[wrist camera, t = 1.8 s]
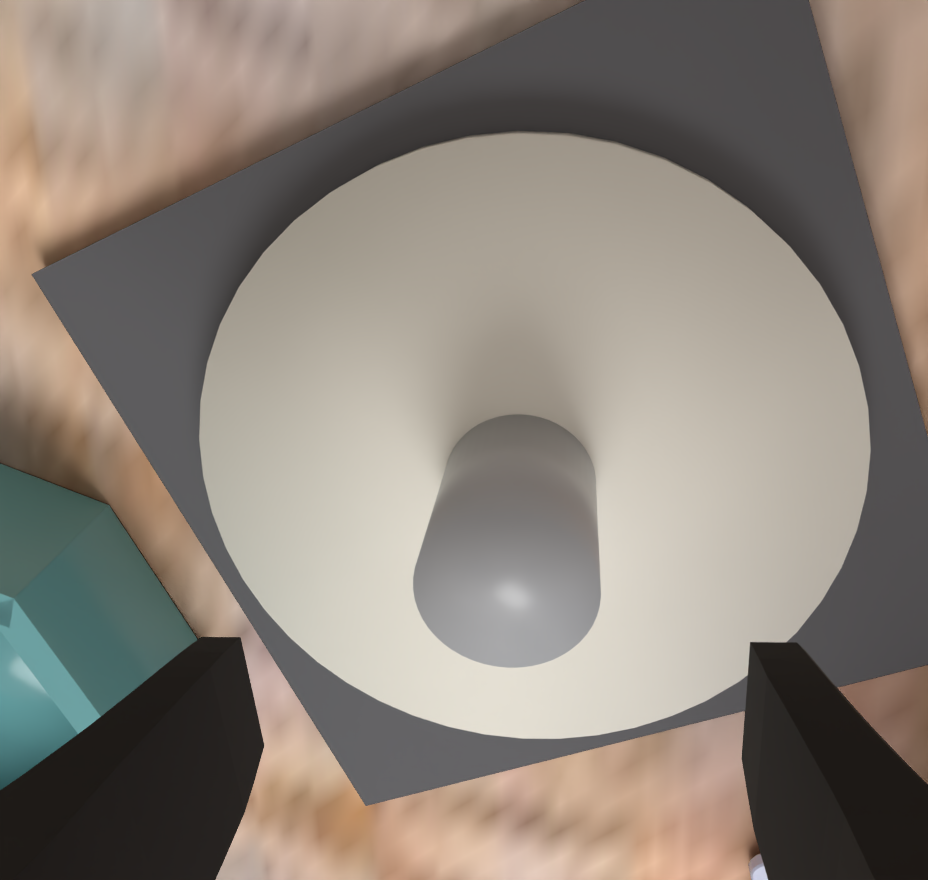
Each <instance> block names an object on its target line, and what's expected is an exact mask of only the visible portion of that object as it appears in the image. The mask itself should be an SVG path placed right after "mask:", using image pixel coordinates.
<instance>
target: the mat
mask: <svg viewBox="0 0 928 880" xmlns="http://www.w3.org/2000/svg"><path fill="white" fill-rule="evenodd" d="M511 131H536V132H560V133H572V134H577V135H583V136H588V137H594V138H599V139H605V140H610V141H615V142H619V143H622V144H625V145H628V146H631V147H634V148H637V149H640V150H643V151H646V152H649V153H652V154H655V155H658V156H661V157H664V158H666V159H668V160H670V161H672V162H674V163H676V164H678V165H680V166H682V167H684V168H686V169H688V170H690V171H692V172H694V173H696V174H698V175H700V176H702V177H704V178H706V179H708V180H710V181H711V182H712V183H714V184H715V185H717V186H718V187H720V188H721V189H723V190H724V191H725V192H727V193H728V194H730V195H731V196H733V197H734V198H736V199H737V200H739V201H740V202H741V203H743V204H744V205H746V206H747V207H748V208H749V209H750V210H751V211H752V212H754V213H755V214H756V215H757V216H758V217H759V218H760V219H761V220H762V221H763V222H764V223H765V224H766V225H768V226H769V227H770V228H771V229H772V230H773V231H774V232H775V233H776V234H777V235H778V236H779V237H780V238H782V239H783V240H784V241H785V242H786V243H787V244H788V245H789V246H790V247H791V248H792V250H793V251H794V252H795V253H796V255H797V256H798V257H799V258H800V260H801V261H802V262H803V263H804V265H805V266H806V267H807V268H808V270H809V271H810V272H811V273H812V275H813V276H814V277H815V278H816V280H817V281H818V282H819V283H820V285H821V287H822V288H823V290H824V292H825V294H826V295H827V297H828V299H829V301H830V302H831V304H832V306H833V308H834V309H835V311H836V313H837V315H838V316H839V318H840V320H841V321H842V323H843V325H844V328H845V331H846V333H847V336H848V338H849V341H850V344H851V346H852V349H853V351H854V354H855V357H856V359H857V362H858V364H859V368H860V372H861V377H862V382H863V386H864V391H865V395H866V400H867V405H868V412H869V430H870V447H871V453H870V463H869V473H868V483H867V492H866V496H865V500H864V504H863V508H862V512H861V516H860V520H859V524H858V528H857V532H856V534H855V536H854V539H853V541H852V544H851V546H850V548H849V551H848V553H847V556H846V558H845V560H844V563H843V565H842V568H841V569H840V571H839V573H838V574H837V576H836V578H835V579H834V581H833V583H832V584H831V586H830V588H829V589H828V591H827V593H826V595H825V596H824V598H823V600H822V601H821V603H820V604H819V605H818V606H817V608H816V609H815V610H814V611H813V613H812V614H811V615H810V616H809V618H808V619H807V620H806V621H805V623H804V624H803V625H802V626H801V628H800V629H799V630H798V632H797V633H796V634H795V635H793V636H792V637H791V638H790V639H789V640H788V641H787V642H797V643H798V644H799V645H800V646H801V647H802V648H803V649H804V650H805V651H806V652H807V653H808V654H809V655H810V657H811V658H812V659H813V660H814V661H815V663H816V664H817V665H818V666H819V667H820V668H821V670H822V671H823V672H824V673H825V674H826V676H827V677H828V678H829V679H830V680H831V681H832V683H833V684H834V685H835V686H836V687H841V686H845V685H849V684H853V683H857V682H861V681H865V680H869V679H873V678H877V677H881V676H885V675H889V674H893V673H897V672H901V671H905V670H909V669H913V668H917V667H921V666H925V665H928V437H927V433H926V429H925V426H924V422H923V418H922V415H921V411H920V407H919V404H918V400H917V396H916V393H915V389H914V385H913V382H912V378H911V374H910V371H909V367H908V363H907V360H906V356H905V352H904V349H903V345H902V341H901V338H900V334H899V330H898V327H897V323H896V319H895V316H894V312H893V308H892V304H891V301H890V297H889V293H888V290H887V286H886V282H885V279H884V275H883V271H882V268H881V264H880V260H879V257H878V253H877V249H876V246H875V242H874V238H873V235H872V231H871V227H870V224H869V220H868V216H867V213H866V209H865V205H864V202H863V198H862V194H861V191H860V187H859V183H858V180H857V176H856V172H855V169H854V165H853V161H852V158H851V154H850V150H849V147H848V143H847V139H846V136H845V132H844V128H843V125H842V121H841V117H840V114H839V110H838V106H837V103H836V99H835V95H834V92H833V88H832V84H831V81H830V77H829V73H828V70H827V66H826V62H825V59H824V55H823V51H822V48H821V44H820V40H819V37H818V33H817V29H816V26H815V22H814V18H813V15H812V11H811V7H810V4H809V0H585V1H583V2H581V3H579V4H577V5H574V6H572V7H570V8H568V9H566V10H564V11H562V12H560V13H558V14H556V15H554V16H552V17H550V18H548V19H546V20H544V21H542V22H540V23H538V24H536V25H534V26H532V27H530V28H528V29H526V30H524V31H522V32H520V33H518V34H516V35H514V36H512V37H510V38H508V39H506V40H504V41H502V42H500V43H498V44H496V45H494V46H492V47H490V48H488V49H486V50H484V51H482V52H480V53H478V54H475V55H473V56H471V57H469V58H467V59H465V60H463V61H461V62H459V63H457V64H455V65H453V66H451V67H449V68H447V69H445V70H443V71H441V72H439V73H437V74H435V75H433V76H431V77H429V78H427V79H425V80H423V81H421V82H419V83H417V84H415V85H413V86H411V87H409V88H407V89H405V90H403V91H401V92H399V93H397V94H395V95H393V96H391V97H389V98H387V99H385V100H383V101H381V102H379V103H376V104H374V105H372V106H370V107H368V108H366V109H364V110H362V111H360V112H358V113H356V114H354V115H352V116H350V117H348V118H346V119H344V120H342V121H340V122H338V123H336V124H334V125H332V126H330V127H328V128H326V129H324V130H322V131H320V132H318V133H316V134H314V135H312V136H310V137H308V138H306V139H304V140H302V141H300V142H298V143H296V144H294V145H292V146H290V147H288V148H286V149H284V150H282V151H280V152H277V153H275V154H273V155H271V156H269V157H267V158H265V159H263V160H261V161H259V162H257V163H255V164H253V165H251V166H249V167H247V168H245V169H243V170H241V171H239V172H237V173H235V174H233V175H231V176H229V177H227V178H225V179H223V180H221V181H219V182H217V183H215V184H213V185H211V186H209V187H207V188H205V189H203V190H201V191H199V192H197V193H195V194H193V195H191V196H189V197H187V198H185V199H183V200H181V201H178V202H176V203H174V204H172V205H170V206H168V207H166V208H164V209H162V210H160V211H158V212H156V213H154V214H152V215H150V216H148V217H146V218H144V219H142V220H140V221H138V222H136V223H134V224H132V225H130V226H128V227H126V228H124V229H122V230H120V231H118V232H116V233H114V234H112V235H110V236H108V237H106V238H104V239H102V240H100V241H98V242H96V243H94V244H92V245H90V246H88V247H86V248H84V249H82V250H79V251H77V252H75V253H73V254H71V255H69V256H67V257H65V258H63V259H61V260H59V261H57V262H55V263H53V264H51V265H49V266H47V267H45V268H43V269H41V270H39V271H37V272H35V273H33V274H32V276H33V277H34V279H35V281H36V282H37V284H38V285H39V287H40V289H41V290H42V292H43V293H44V295H45V297H46V298H47V300H48V301H49V303H50V304H51V306H52V308H53V309H54V311H55V312H56V314H57V316H58V317H59V319H60V320H61V322H62V324H63V325H64V327H65V328H66V330H67V332H68V333H69V335H70V336H71V338H72V339H73V341H74V343H75V344H76V346H77V347H78V349H79V351H80V352H81V354H82V355H83V357H84V359H85V360H86V362H87V363H88V365H89V366H90V368H91V370H92V371H93V373H94V374H95V376H96V378H97V379H98V381H99V382H100V384H101V386H102V387H103V389H104V390H105V392H106V394H107V395H108V397H109V398H110V400H111V401H112V403H113V405H114V406H115V408H116V409H117V411H118V413H119V414H120V416H121V417H122V419H123V421H124V422H125V424H126V425H127V427H128V429H129V430H130V432H131V433H132V435H133V436H134V438H135V440H136V441H137V443H138V444H139V446H140V448H141V449H142V451H143V452H144V454H145V456H146V457H147V459H148V460H149V462H150V463H151V465H152V467H153V468H154V470H155V471H156V473H157V475H158V476H159V478H160V479H161V481H162V483H163V484H164V486H165V487H166V489H167V491H168V492H169V494H170V495H171V497H172V498H173V500H174V502H175V503H176V505H177V506H178V508H179V510H180V511H181V513H182V514H183V516H184V518H185V519H186V521H187V522H188V524H189V525H190V527H191V529H192V530H193V532H194V533H195V535H196V537H197V538H198V540H199V541H200V543H201V545H202V546H203V548H204V549H205V551H206V553H207V554H208V556H209V557H210V559H211V560H212V562H213V564H214V565H215V567H216V568H217V570H218V572H219V573H220V575H221V576H222V578H223V580H224V581H225V583H226V584H227V586H228V587H229V589H230V591H231V592H232V594H233V595H234V597H235V599H236V600H237V602H238V603H239V605H240V607H241V608H242V610H243V611H244V613H245V615H246V616H247V618H248V619H249V621H250V622H251V624H252V626H253V627H254V629H255V630H256V632H257V634H258V635H259V637H260V638H261V640H262V642H263V643H264V645H265V646H266V648H267V649H268V651H269V653H270V654H271V656H272V657H273V659H274V661H275V662H276V664H277V665H278V667H279V669H280V670H281V672H282V673H283V675H284V677H285V678H286V680H287V681H288V683H289V684H290V686H291V688H292V689H293V691H294V692H295V694H296V696H297V697H298V699H299V700H300V702H301V704H302V705H303V707H304V708H305V710H306V711H307V713H308V715H309V716H310V718H311V719H312V721H313V723H314V724H315V726H316V727H317V729H318V731H319V732H320V734H321V735H322V737H323V739H324V740H325V742H326V743H327V745H328V746H329V748H330V750H331V751H332V753H333V754H334V756H335V758H336V759H337V761H338V762H339V764H340V766H341V767H342V769H343V770H344V772H345V773H346V775H347V777H348V778H349V780H350V781H351V783H352V785H353V786H354V788H355V789H356V791H357V793H358V794H359V796H360V797H361V799H362V801H363V802H364V804H365V805H366V806H367V805H371V804H375V803H379V802H383V801H387V800H391V799H395V798H399V797H403V796H407V795H411V794H415V793H419V792H423V791H427V790H431V789H435V788H439V787H443V786H447V785H451V784H455V783H459V782H463V781H467V780H471V779H475V778H479V777H483V776H487V775H491V774H495V773H499V772H503V771H507V770H511V769H515V768H519V767H523V766H527V765H531V764H535V763H539V762H543V761H547V760H551V759H555V758H559V757H563V756H567V755H571V754H574V753H578V752H582V751H586V750H590V749H594V748H598V747H602V746H606V745H610V744H614V743H618V742H622V741H626V740H630V739H634V738H638V737H642V736H646V735H650V734H654V733H658V732H662V731H666V730H670V729H674V728H678V727H682V726H686V725H690V724H694V723H698V722H702V721H706V720H710V719H714V718H718V717H722V716H726V715H730V714H734V713H738V712H742V711H745V707H746V693H747V679H748V675H747V676H746V677H745V678H743V679H742V680H741V681H739V682H738V683H736V684H734V685H733V686H731V687H729V688H727V689H726V690H724V691H722V692H721V693H719V694H717V695H715V696H714V697H712V698H710V699H709V700H707V701H705V702H703V703H700V704H698V705H696V706H694V707H691V708H689V709H687V710H684V711H682V712H680V713H678V714H675V715H673V716H671V717H667V718H664V719H661V720H658V721H655V722H652V723H648V724H645V725H642V726H639V727H636V728H631V729H626V730H621V731H616V732H611V733H606V734H601V735H595V736H584V737H574V738H563V739H522V738H513V737H503V736H494V735H485V734H480V733H475V732H471V731H466V730H461V729H456V728H452V727H447V726H444V725H441V724H438V723H435V722H432V721H429V720H425V719H422V718H419V717H416V716H413V715H411V714H408V713H406V712H404V711H401V710H399V709H397V708H394V707H392V706H390V705H387V704H385V703H383V702H381V701H378V700H377V699H375V698H373V697H371V696H370V695H368V694H366V693H364V692H362V691H361V690H359V689H357V688H355V687H353V686H352V685H350V684H348V683H346V682H345V681H344V680H342V679H341V678H339V677H338V676H337V675H335V674H334V673H332V672H331V671H329V670H328V669H327V668H325V667H324V666H322V665H321V664H320V663H318V662H317V661H316V660H315V659H313V658H312V657H311V656H310V655H309V654H308V653H307V652H305V651H304V650H303V649H302V648H301V647H300V646H299V645H298V644H296V643H295V642H294V641H293V640H292V639H291V638H290V637H289V636H288V635H287V634H286V633H285V632H284V631H283V630H282V629H281V627H280V626H279V625H278V624H277V623H276V622H275V621H274V620H273V619H272V618H271V616H270V615H269V614H268V613H267V612H266V611H265V610H264V608H263V607H262V605H261V604H260V603H259V601H258V600H257V598H256V597H255V596H254V594H253V593H252V591H251V590H250V589H249V587H248V586H247V584H246V583H245V582H244V580H243V578H242V577H241V575H240V573H239V571H238V569H237V567H236V566H235V564H234V562H233V560H232V558H231V556H230V555H229V553H228V551H227V549H226V547H225V545H224V542H223V539H222V537H221V534H220V532H219V529H218V527H217V524H216V522H215V519H214V516H213V514H212V510H211V506H210V502H209V498H208V494H207V490H206V486H205V482H204V478H203V470H202V461H201V451H200V442H199V430H200V401H201V395H202V389H203V384H204V378H205V372H206V367H207V362H208V359H209V356H210V353H211V350H212V347H213V344H214V341H215V338H216V335H217V332H218V329H219V326H220V323H221V321H222V319H223V317H224V315H225V313H226V311H227V309H228V308H229V306H230V304H231V302H232V300H233V298H234V296H235V294H236V292H237V290H238V288H239V286H240V285H241V283H242V282H243V281H244V279H245V278H246V276H247V275H248V274H249V272H250V271H251V269H252V268H253V267H254V265H255V264H256V262H257V261H258V259H259V258H260V257H261V255H262V254H263V252H264V251H265V250H266V249H267V248H268V247H269V246H270V245H271V244H272V243H273V242H274V241H275V240H276V239H277V238H278V237H279V236H280V235H281V234H282V233H283V232H284V231H285V230H286V228H287V227H288V226H289V225H290V224H291V223H292V222H293V221H294V220H295V219H297V218H298V217H299V216H301V215H302V214H303V213H304V212H306V211H307V210H308V209H310V208H311V207H312V206H314V205H315V204H316V203H317V202H319V201H320V200H321V199H323V198H324V197H325V196H326V195H328V194H329V193H330V192H332V191H334V190H335V189H337V188H338V187H340V186H342V185H344V184H345V183H347V182H349V181H351V180H352V179H354V178H356V177H358V176H359V175H361V174H363V173H365V172H366V171H368V170H370V169H372V168H374V167H375V166H377V165H379V164H381V163H383V162H386V161H388V160H391V159H393V158H396V157H399V156H401V155H404V154H406V153H409V152H411V151H414V150H416V149H419V148H421V147H424V146H428V145H432V144H437V143H441V142H445V141H449V140H453V139H457V138H462V137H466V136H470V135H480V134H490V133H501V132H511Z"/></svg>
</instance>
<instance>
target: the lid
mask: <svg viewBox="0 0 928 880" xmlns="http://www.w3.org/2000/svg"><path fill="white" fill-rule="evenodd" d="M199 442H200V451H201V461H202V470H203V478H204V482H205V486H206V490H207V494H208V498H209V502H210V506H211V510H212V514H213V516H214V519H215V522H216V524H217V527H218V529H219V532H220V534H221V537H222V539H223V542H224V545H225V547H226V549H227V551H228V553H229V555H230V556H231V558H232V560H233V562H234V564H235V566H236V567H237V569H238V571H239V573H240V575H241V577H242V578H243V580H244V582H245V583H246V584H247V586H248V587H249V589H250V590H251V591H252V593H253V594H254V596H255V597H256V598H257V600H258V601H259V603H260V604H261V605H262V607H263V608H264V610H265V611H266V612H267V613H268V614H269V615H270V616H271V618H272V619H273V620H274V621H275V622H276V623H277V624H278V625H279V626H280V627H281V629H282V630H283V631H284V632H285V633H286V634H287V635H288V636H289V637H290V638H291V639H292V640H293V641H294V642H295V643H296V644H298V645H299V646H300V647H301V648H302V649H303V650H304V651H305V652H307V653H308V654H309V655H310V656H311V657H312V658H313V659H315V660H316V661H317V662H318V663H320V664H321V665H322V666H324V667H325V668H327V669H328V670H329V671H331V672H332V673H334V674H335V675H337V676H338V677H339V678H341V679H342V680H344V681H345V682H346V683H348V684H350V685H352V686H353V687H355V688H357V689H359V690H361V691H362V692H364V693H366V694H368V695H370V696H371V697H373V698H375V699H377V700H378V701H381V702H383V703H385V704H387V705H390V706H392V707H394V708H397V709H399V710H401V711H404V712H406V713H408V714H411V715H413V716H416V717H419V718H422V719H425V720H429V721H432V722H435V723H438V724H441V725H444V726H447V727H452V728H456V729H461V730H466V731H471V732H475V733H480V734H485V735H494V736H503V737H513V738H522V739H563V738H574V737H584V736H595V735H601V734H606V733H611V732H616V731H621V730H626V729H631V728H636V727H639V726H642V725H645V724H648V723H652V722H655V721H658V720H661V719H664V718H667V717H671V716H673V715H675V714H678V713H680V712H682V711H684V710H687V709H689V708H691V707H694V706H696V705H698V704H700V703H703V702H705V701H707V700H709V699H710V698H712V697H714V696H715V695H717V694H719V693H721V692H722V691H724V690H726V689H727V688H729V687H731V686H733V685H734V684H736V683H738V682H739V681H741V680H742V679H743V678H745V677H746V676H747V675H748V665H749V651H750V642H787V641H788V640H789V639H790V638H791V637H792V636H793V635H795V634H796V633H797V632H798V630H799V629H800V628H801V626H802V625H803V624H804V623H805V621H806V620H807V619H808V618H809V616H810V615H811V614H812V613H813V611H814V610H815V609H816V608H817V606H818V605H819V604H820V603H821V601H822V600H823V598H824V596H825V595H826V593H827V591H828V589H829V588H830V586H831V584H832V583H833V581H834V579H835V578H836V576H837V574H838V573H839V571H840V569H841V568H842V565H843V563H844V560H845V558H846V556H847V553H848V551H849V548H850V546H851V544H852V541H853V539H854V536H855V534H856V532H857V528H858V524H859V520H860V516H861V512H862V508H863V504H864V500H865V496H866V492H867V483H868V473H869V463H870V453H871V447H870V430H869V412H868V405H867V400H866V395H865V391H864V386H863V382H862V377H861V372H860V368H859V364H858V362H857V359H856V357H855V354H854V351H853V349H852V346H851V344H850V341H849V338H848V336H847V333H846V331H845V328H844V325H843V323H842V321H841V320H840V318H839V316H838V315H837V313H836V311H835V309H834V308H833V306H832V304H831V302H830V301H829V299H828V297H827V295H826V294H825V292H824V290H823V288H822V287H821V285H820V283H819V282H818V281H817V280H816V278H815V277H814V276H813V275H812V273H811V272H810V271H809V270H808V268H807V267H806V266H805V265H804V263H803V262H802V261H801V260H800V258H799V257H798V256H797V255H796V253H795V252H794V251H793V250H792V248H791V247H790V246H789V245H788V244H787V243H786V242H785V241H784V240H783V239H782V238H780V237H779V236H778V235H777V234H776V233H775V232H774V231H773V230H772V229H771V228H770V227H769V226H768V225H766V224H765V223H764V222H763V221H762V220H761V219H760V218H759V217H758V216H757V215H756V214H755V213H754V212H752V211H751V210H750V209H749V208H748V207H747V206H746V205H744V204H743V203H741V202H740V201H739V200H737V199H736V198H734V197H733V196H731V195H730V194H728V193H727V192H725V191H724V190H723V189H721V188H720V187H718V186H717V185H715V184H714V183H712V182H711V181H710V180H708V179H706V178H704V177H702V176H700V175H698V174H696V173H694V172H692V171H690V170H688V169H686V168H684V167H682V166H680V165H678V164H676V163H674V162H672V161H670V160H668V159H666V158H664V157H661V156H658V155H655V154H652V153H649V152H646V151H643V150H640V149H637V148H634V147H631V146H628V145H625V144H622V143H619V142H615V141H610V140H605V139H599V138H594V137H588V136H583V135H577V134H572V133H560V132H536V131H511V132H501V133H490V134H480V135H470V136H466V137H462V138H457V139H453V140H449V141H445V142H441V143H437V144H432V145H428V146H424V147H421V148H419V149H416V150H414V151H411V152H409V153H406V154H404V155H401V156H399V157H396V158H393V159H391V160H388V161H386V162H383V163H381V164H379V165H377V166H375V167H374V168H372V169H370V170H368V171H366V172H365V173H363V174H361V175H359V176H358V177H356V178H354V179H352V180H351V181H349V182H347V183H345V184H344V185H342V186H340V187H338V188H337V189H335V190H334V191H332V192H330V193H329V194H328V195H326V196H325V197H324V198H323V199H321V200H320V201H319V202H317V203H316V204H315V205H314V206H312V207H311V208H310V209H308V210H307V211H306V212H304V213H303V214H302V215H301V216H299V217H298V218H297V219H295V220H294V221H293V222H292V223H291V224H290V225H289V226H288V227H287V228H286V230H285V231H284V232H283V233H282V234H281V235H280V236H279V237H278V238H277V239H276V240H275V241H274V242H273V243H272V244H271V245H270V246H269V247H268V248H267V249H266V250H265V251H264V252H263V254H262V255H261V257H260V258H259V259H258V261H257V262H256V264H255V265H254V267H253V268H252V269H251V271H250V272H249V274H248V275H247V276H246V278H245V279H244V281H243V282H242V283H241V285H240V286H239V288H238V290H237V292H236V294H235V296H234V298H233V300H232V302H231V304H230V306H229V308H228V309H227V311H226V313H225V315H224V317H223V319H222V321H221V323H220V326H219V329H218V332H217V335H216V338H215V341H214V344H213V347H212V350H211V353H210V356H209V359H208V362H207V367H206V372H205V378H204V384H203V389H202V395H201V401H200V430H199Z"/></svg>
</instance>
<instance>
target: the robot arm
mask: <svg viewBox="0 0 928 880" xmlns="http://www.w3.org/2000/svg"><path fill="white" fill-rule="evenodd" d="M263 748H264V742H263V738H262V733H261V729H260V724H259V720H258V715H257V711H256V706H255V701H254V697H253V692H252V688H251V683H250V679H249V674H248V670H247V665H246V660H245V656H244V651H243V647H242V642H241V638H240V637H201V638H199V639H198V640H196V641H195V642H194V643H192V644H191V645H190V646H188V647H187V648H186V649H184V650H183V651H182V652H180V653H179V654H178V655H177V656H175V657H174V658H173V659H172V660H170V661H169V662H168V663H167V664H165V665H164V666H163V667H162V668H160V669H159V670H158V671H157V672H156V673H154V674H153V675H152V676H151V677H149V678H148V679H147V680H146V681H144V682H143V683H142V684H141V685H140V686H138V687H137V688H136V689H135V690H133V691H132V692H131V693H130V694H128V695H127V696H126V697H125V698H123V699H122V700H121V701H120V702H118V703H117V704H116V705H115V706H113V707H112V708H111V709H110V710H108V711H107V712H106V713H105V714H103V715H102V716H101V717H100V718H98V719H97V720H96V721H95V722H93V723H92V724H91V725H89V726H88V727H87V728H86V729H84V730H83V731H81V732H80V733H79V734H77V735H76V736H75V737H73V738H72V739H71V740H69V741H68V742H67V743H65V744H64V745H62V746H61V747H60V748H58V749H57V750H56V751H54V752H53V753H52V754H50V755H49V756H48V757H46V758H45V759H43V760H42V761H41V762H39V763H38V764H37V765H35V766H34V767H33V768H31V769H30V770H29V771H27V772H26V773H24V774H23V775H22V776H20V777H19V778H17V779H16V780H14V781H13V782H11V783H10V784H9V785H7V786H6V787H4V788H3V789H1V790H0V880H215V879H216V877H217V875H218V872H219V870H220V868H221V866H222V863H223V861H224V859H225V856H226V854H227V852H228V850H229V847H230V845H231V843H232V840H233V838H234V836H235V833H236V831H237V829H238V826H239V824H240V822H241V819H242V817H243V815H244V812H245V809H246V806H247V803H248V800H249V796H250V793H251V790H252V787H253V784H254V780H255V777H256V773H257V769H258V766H259V762H260V759H261V755H262V752H263ZM742 762H743V769H744V775H745V781H746V787H747V793H748V799H749V805H750V810H751V816H752V822H753V827H754V832H755V836H756V839H757V843H758V846H759V850H760V853H761V854H758V855H756V856H754V857H753V858H752V859H751V860H750V862H749V871H750V876H751V880H928V784H927V783H926V782H925V781H924V780H923V779H922V778H921V777H920V776H919V775H918V774H917V773H916V772H915V771H914V770H913V769H912V768H911V767H910V766H909V765H908V764H907V763H906V762H905V761H904V760H903V759H902V758H901V757H900V756H899V755H898V754H897V753H896V752H895V751H894V750H893V749H892V748H891V747H890V746H889V745H888V743H887V742H886V741H885V740H884V739H883V738H882V737H881V736H880V735H879V734H878V733H877V732H876V731H875V730H874V729H873V728H872V727H871V726H870V724H869V723H868V722H867V721H866V720H865V719H864V718H863V717H862V716H861V715H860V713H859V712H858V711H857V710H856V709H855V708H854V707H853V706H852V704H851V703H850V702H849V701H848V700H847V699H846V698H845V696H844V695H843V694H842V693H841V692H840V691H839V690H838V688H837V687H836V686H835V685H834V684H833V683H832V681H831V680H830V679H829V678H828V677H827V676H826V674H825V673H824V672H823V671H822V670H821V668H820V667H819V666H818V665H817V664H816V663H815V661H814V660H813V659H812V658H811V657H810V655H809V654H808V653H807V652H806V651H805V650H804V649H803V648H802V647H801V646H800V645H799V644H798V643H797V642H750V651H749V665H748V679H747V693H746V707H745V721H744V735H743V749H742Z"/></svg>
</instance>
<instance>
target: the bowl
mask: <svg viewBox="0 0 928 880" xmlns="http://www.w3.org/2000/svg"><path fill="white" fill-rule="evenodd" d="M196 640H198V639H197V638H196V636H195V635H194V633H193V632H192V630H191V629H190V627H189V626H188V624H187V623H186V621H185V620H184V618H183V617H182V615H181V614H180V612H179V611H178V609H177V608H176V606H175V604H174V603H173V601H172V600H171V598H170V597H169V595H168V594H167V592H166V591H165V589H164V588H163V586H162V585H161V583H160V582H159V580H158V579H157V577H156V576H155V574H154V573H153V571H152V570H151V568H150V567H149V565H148V564H147V562H146V561H145V559H144V558H143V556H142V555H141V553H140V551H139V550H138V548H137V547H136V545H135V544H134V542H133V541H132V539H131V538H130V536H129V535H128V533H127V532H126V530H125V529H124V527H123V526H122V524H121V523H120V521H119V520H118V518H117V517H116V515H115V514H114V512H113V511H112V509H111V508H110V506H109V505H107V504H105V503H102V502H99V501H97V500H94V499H92V498H89V497H86V496H84V495H81V494H78V493H76V492H73V491H71V490H68V489H65V488H63V487H60V486H58V485H55V484H52V483H50V482H47V481H44V480H42V479H39V478H37V477H34V476H31V475H29V474H26V473H24V472H21V471H18V470H16V469H13V468H11V467H8V466H5V465H3V464H0V790H1V789H3V788H4V787H6V786H7V785H9V784H10V783H11V782H13V781H14V780H16V779H17V778H19V777H20V776H22V775H23V774H24V773H26V772H27V771H29V770H30V769H31V768H33V767H34V766H35V765H37V764H38V763H39V762H41V761H42V760H43V759H45V758H46V757H48V756H49V755H50V754H52V753H53V752H54V751H56V750H57V749H58V748H60V747H61V746H62V745H64V744H65V743H67V742H68V741H69V740H71V739H72V738H73V737H75V736H76V735H77V734H79V733H80V732H81V731H83V730H84V729H86V728H87V727H88V726H89V725H91V724H92V723H93V722H95V721H96V720H97V719H98V718H100V717H101V716H102V715H103V714H105V713H106V712H107V711H108V710H110V709H111V708H112V707H113V706H115V705H116V704H117V703H118V702H120V701H121V700H122V699H123V698H125V697H126V696H127V695H128V694H130V693H131V692H132V691H133V690H135V689H136V688H137V687H138V686H140V685H141V684H142V683H143V682H144V681H146V680H147V679H148V678H149V677H151V676H152V675H153V674H154V673H156V672H157V671H158V670H159V669H160V668H162V667H163V666H164V665H165V664H167V663H168V662H169V661H170V660H172V659H173V658H174V657H175V656H177V655H178V654H179V653H180V652H182V651H183V650H184V649H186V648H187V647H188V646H190V645H191V644H192V643H194V642H195V641H196Z"/></svg>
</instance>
